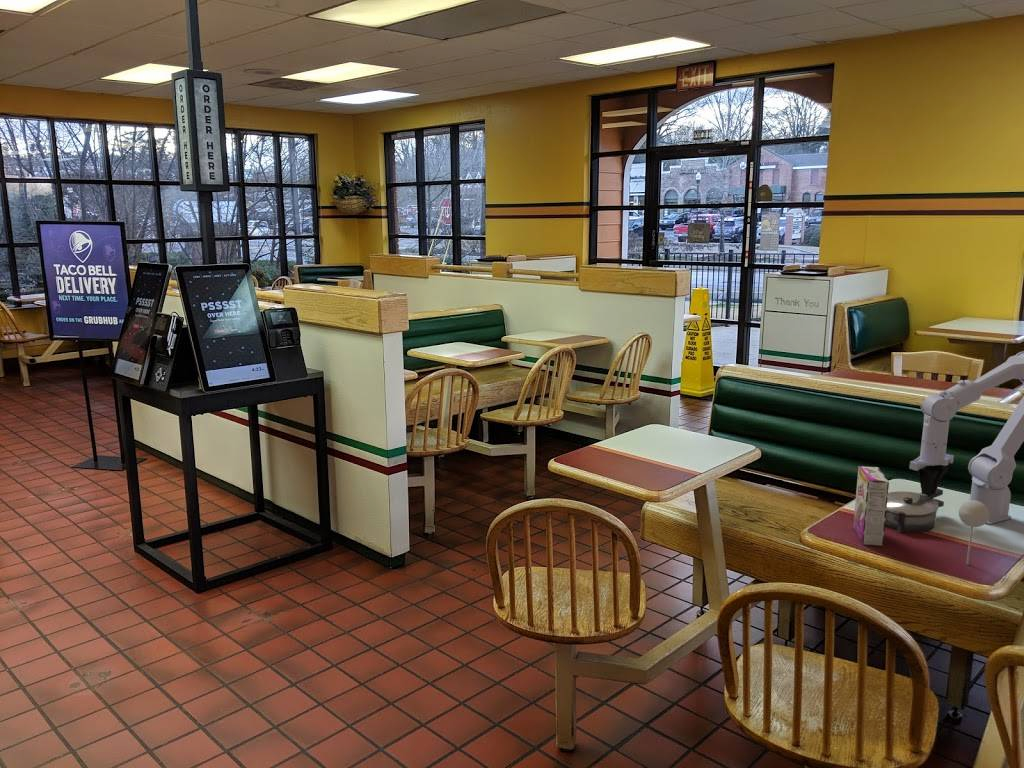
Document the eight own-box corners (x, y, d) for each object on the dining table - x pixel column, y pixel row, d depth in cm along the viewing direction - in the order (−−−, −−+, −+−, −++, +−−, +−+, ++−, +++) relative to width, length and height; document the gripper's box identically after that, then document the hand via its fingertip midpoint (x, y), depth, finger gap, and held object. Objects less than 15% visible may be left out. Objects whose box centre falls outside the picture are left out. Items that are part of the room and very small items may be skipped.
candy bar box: (851, 527, 202) (857, 465, 198) (872, 529, 201) (879, 466, 197) (861, 545, 191) (867, 479, 187) (883, 547, 190) (890, 481, 186)
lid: (915, 485, 215) (915, 479, 215) (963, 501, 203) (963, 495, 203) (867, 503, 207) (867, 497, 207) (914, 521, 195) (914, 514, 195)
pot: (915, 506, 216) (917, 488, 215) (961, 522, 205) (963, 503, 204) (864, 518, 207) (866, 500, 206) (909, 536, 196) (911, 517, 195)
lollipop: (958, 556, 185) (966, 494, 182) (986, 564, 180) (995, 501, 177) (947, 563, 181) (955, 500, 178) (976, 572, 176) (984, 508, 173)
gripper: (929, 449, 197) (923, 502, 200) (967, 442, 204) (960, 492, 207) (904, 442, 204) (899, 493, 206) (941, 435, 210) (935, 484, 213)
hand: (928, 492), depth 207 cm, fingers closed
